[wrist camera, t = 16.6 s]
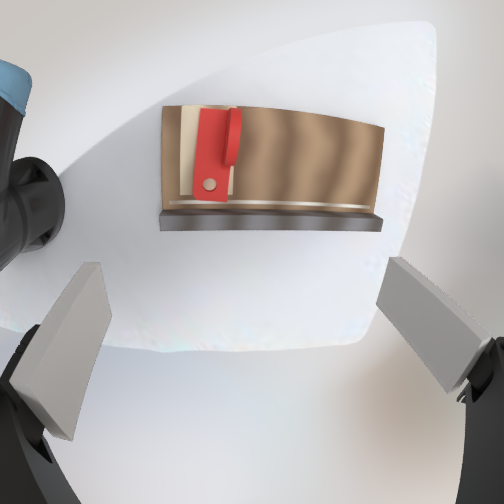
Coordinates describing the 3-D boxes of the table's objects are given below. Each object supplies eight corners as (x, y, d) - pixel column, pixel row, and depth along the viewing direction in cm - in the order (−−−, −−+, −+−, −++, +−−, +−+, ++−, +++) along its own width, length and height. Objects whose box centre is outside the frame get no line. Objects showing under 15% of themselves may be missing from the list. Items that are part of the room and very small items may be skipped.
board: (165, 219, 38) (159, 231, 34) (165, 107, 32) (158, 104, 27) (365, 221, 44) (380, 231, 39) (377, 127, 37) (396, 128, 33)
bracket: (200, 108, 31) (198, 101, 24) (236, 111, 32) (243, 105, 25) (192, 198, 36) (189, 215, 29) (226, 200, 37) (231, 217, 30)
